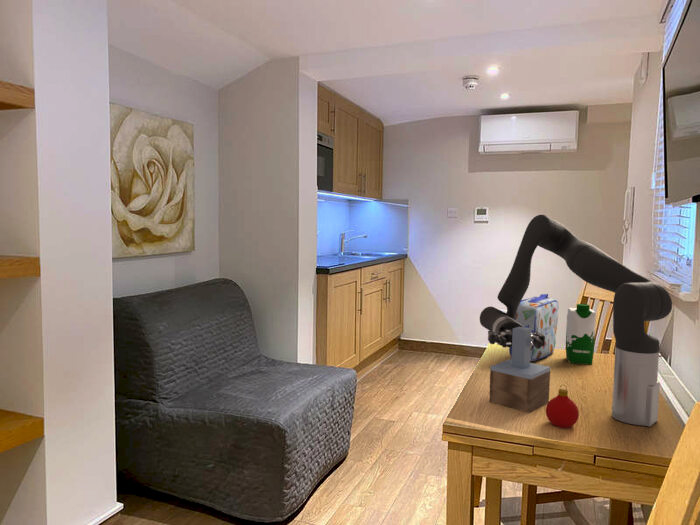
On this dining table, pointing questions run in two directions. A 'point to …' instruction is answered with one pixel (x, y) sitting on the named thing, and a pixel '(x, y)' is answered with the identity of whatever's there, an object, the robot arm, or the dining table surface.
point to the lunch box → (539, 322)
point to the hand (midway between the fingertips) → (522, 344)
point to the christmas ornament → (562, 410)
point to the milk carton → (580, 334)
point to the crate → (519, 391)
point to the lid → (521, 357)
